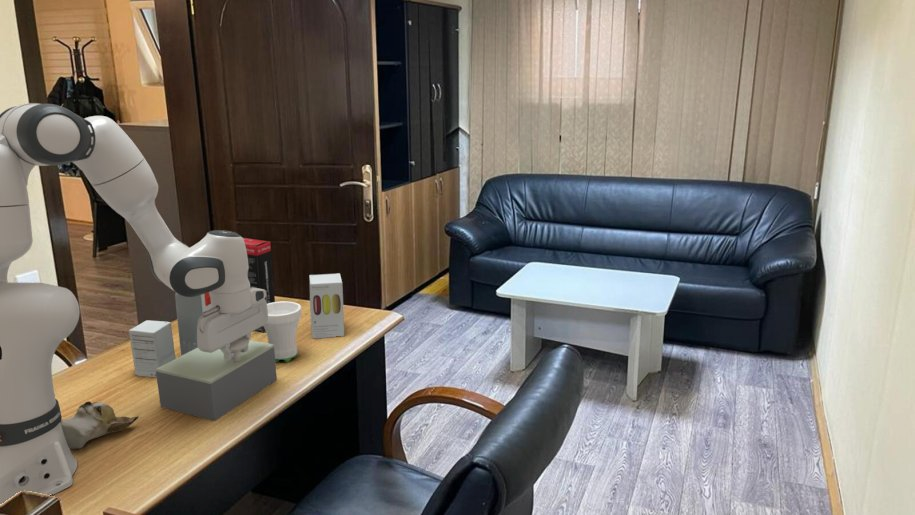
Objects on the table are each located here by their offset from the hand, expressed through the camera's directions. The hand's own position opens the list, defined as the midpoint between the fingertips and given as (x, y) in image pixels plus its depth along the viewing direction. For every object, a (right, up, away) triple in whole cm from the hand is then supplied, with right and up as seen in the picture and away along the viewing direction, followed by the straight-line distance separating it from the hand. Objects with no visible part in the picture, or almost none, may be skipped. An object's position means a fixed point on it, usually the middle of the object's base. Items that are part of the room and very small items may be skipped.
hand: (236, 355), depth 158 cm
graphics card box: (-12, +2, +48) cm, 49 cm away
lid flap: (-5, -1, +3) cm, 6 cm away
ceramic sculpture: (-26, -16, -14) cm, 33 cm away
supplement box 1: (-26, -7, +17) cm, 32 cm away
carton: (-5, -10, +5) cm, 12 cm away
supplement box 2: (+13, +1, +43) cm, 45 cm away
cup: (+5, -4, +25) cm, 26 cm away
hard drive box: (-16, -4, +28) cm, 32 cm away
